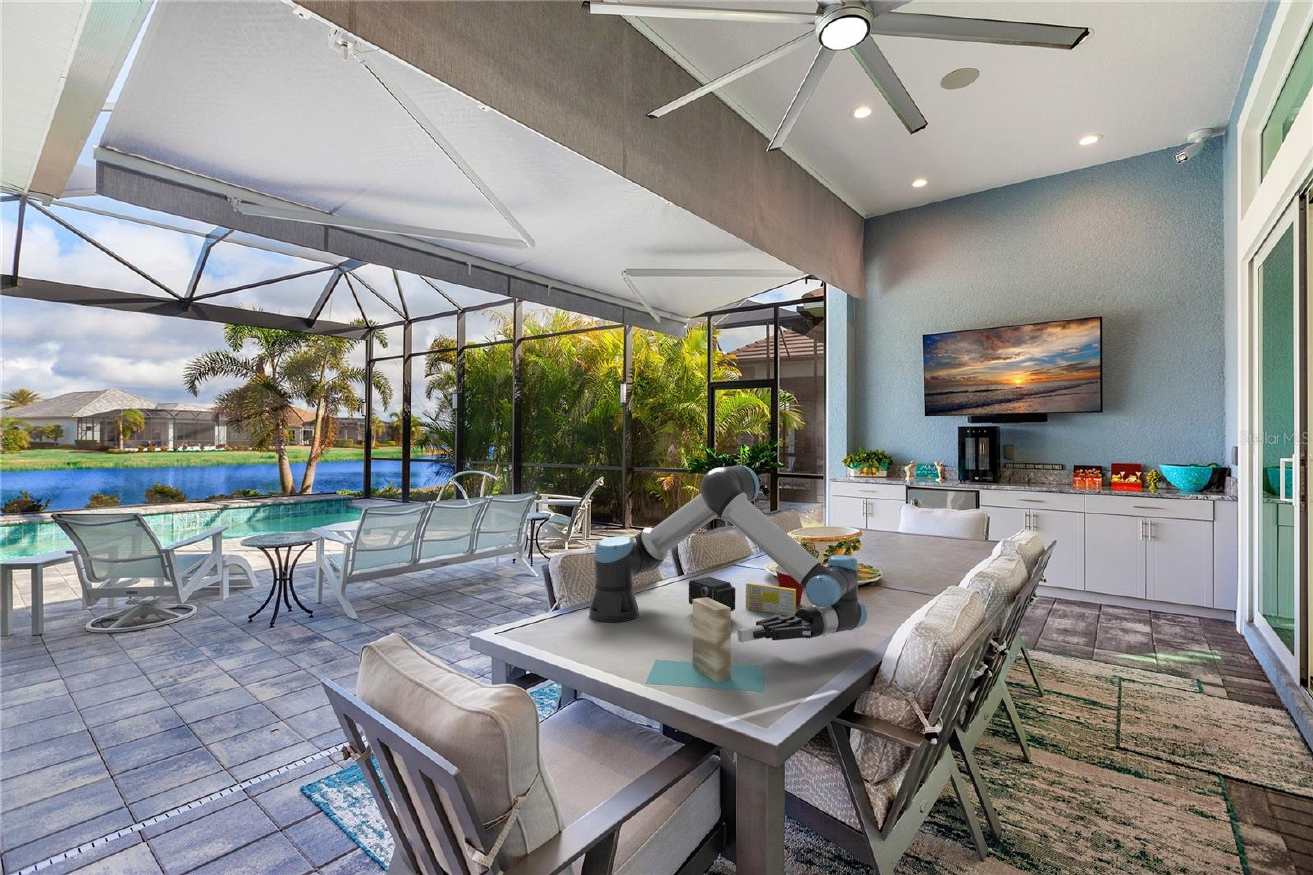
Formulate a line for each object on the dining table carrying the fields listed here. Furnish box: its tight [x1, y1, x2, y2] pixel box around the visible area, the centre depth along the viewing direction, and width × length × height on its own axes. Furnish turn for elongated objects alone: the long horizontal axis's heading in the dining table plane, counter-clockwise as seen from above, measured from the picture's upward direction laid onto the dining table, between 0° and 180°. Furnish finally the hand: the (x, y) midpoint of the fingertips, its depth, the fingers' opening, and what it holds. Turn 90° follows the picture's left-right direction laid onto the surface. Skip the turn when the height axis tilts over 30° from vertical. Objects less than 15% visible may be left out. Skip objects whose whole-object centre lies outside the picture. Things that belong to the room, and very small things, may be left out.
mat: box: [645, 659, 765, 693], centre depth 135 cm, size 26×14×1 cm, turn 81°
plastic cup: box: [774, 565, 804, 608], centre depth 193 cm, size 11×11×12 cm
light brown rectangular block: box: [692, 597, 732, 682], centre depth 137 cm, size 4×10×16 cm, turn 28°
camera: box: [688, 576, 736, 612], centre depth 182 cm, size 11×11×15 cm
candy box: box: [745, 582, 797, 617], centre depth 186 cm, size 16×2×8 cm, turn 58°
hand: (740, 635), depth 140 cm, fingers closed
